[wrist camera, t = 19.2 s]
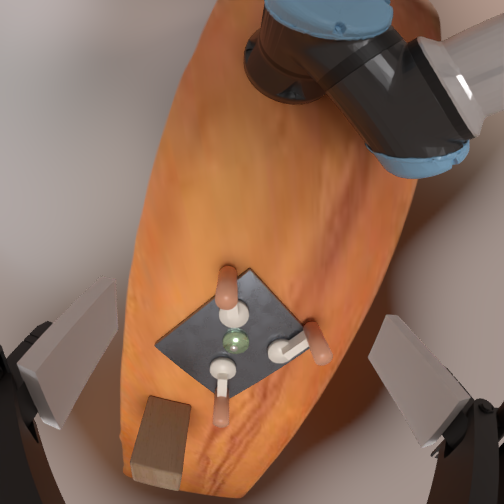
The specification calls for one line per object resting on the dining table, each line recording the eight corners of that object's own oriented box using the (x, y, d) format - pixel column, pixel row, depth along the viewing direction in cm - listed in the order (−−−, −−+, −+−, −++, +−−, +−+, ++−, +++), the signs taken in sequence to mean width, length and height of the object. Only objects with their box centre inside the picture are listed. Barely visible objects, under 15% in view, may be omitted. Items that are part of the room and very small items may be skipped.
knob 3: (278, 363, 51) (284, 395, 42) (262, 349, 50) (266, 381, 41) (324, 331, 49) (339, 360, 41) (309, 315, 48) (323, 344, 39)
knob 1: (250, 322, 48) (253, 354, 39) (221, 325, 48) (219, 357, 39) (242, 264, 44) (243, 287, 36) (211, 267, 44) (205, 292, 36)
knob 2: (210, 356, 50) (206, 389, 41) (236, 358, 50) (237, 391, 41) (210, 394, 53) (207, 426, 44) (233, 396, 53) (233, 428, 45)
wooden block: (148, 418, 57) (132, 480, 38) (149, 394, 54) (129, 463, 35) (187, 427, 58) (178, 491, 39) (191, 404, 56) (181, 476, 37)
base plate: (249, 267, 46) (250, 272, 44) (315, 339, 51) (318, 345, 49) (155, 342, 50) (152, 349, 48) (225, 397, 55) (224, 404, 53)
